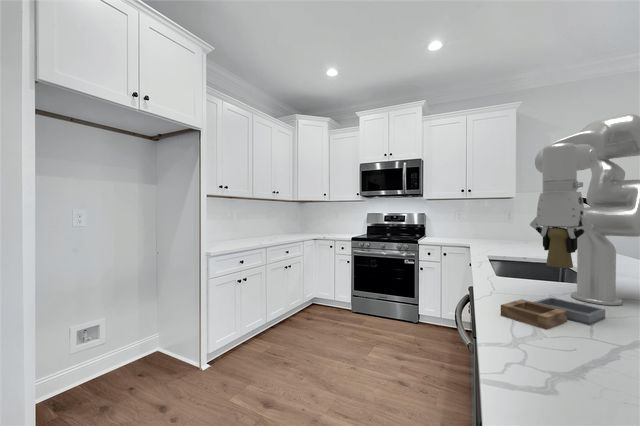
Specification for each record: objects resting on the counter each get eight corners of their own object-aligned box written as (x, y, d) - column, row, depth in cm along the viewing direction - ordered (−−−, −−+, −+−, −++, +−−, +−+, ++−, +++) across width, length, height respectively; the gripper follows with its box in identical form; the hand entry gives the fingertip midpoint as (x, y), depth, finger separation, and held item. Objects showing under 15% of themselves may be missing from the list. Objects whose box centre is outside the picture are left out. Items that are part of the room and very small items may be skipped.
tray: (550, 305, 92) (550, 297, 92) (605, 318, 80) (605, 309, 80) (533, 310, 87) (533, 302, 87) (589, 325, 75) (589, 315, 75)
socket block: (521, 309, 87) (521, 299, 87) (567, 321, 78) (567, 310, 78) (500, 315, 82) (500, 304, 82) (546, 329, 72) (546, 317, 72)
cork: (578, 268, 79) (578, 228, 79) (553, 267, 81) (553, 228, 80) (564, 264, 85) (564, 226, 85) (541, 263, 86) (541, 226, 86)
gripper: (604, 185, 77) (604, 253, 77) (532, 189, 92) (533, 246, 92) (592, 185, 73) (592, 256, 74) (519, 189, 88) (520, 248, 88)
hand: (559, 250), depth 83 cm, fingers closed on cork, 4 cm apart
